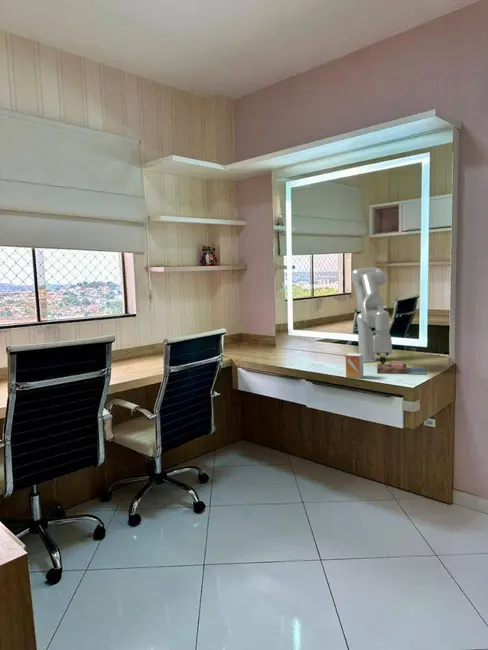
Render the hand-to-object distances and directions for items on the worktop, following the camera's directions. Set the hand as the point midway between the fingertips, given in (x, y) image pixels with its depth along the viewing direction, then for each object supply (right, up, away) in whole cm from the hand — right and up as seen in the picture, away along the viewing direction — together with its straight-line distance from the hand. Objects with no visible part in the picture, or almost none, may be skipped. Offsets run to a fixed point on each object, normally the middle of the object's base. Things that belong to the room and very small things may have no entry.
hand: (382, 363), depth 253 cm
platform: (+5, -4, -1) cm, 6 cm away
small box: (-19, -7, -9) cm, 22 cm away
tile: (+7, 0, -2) cm, 8 cm away
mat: (+17, -4, -5) cm, 18 cm away
